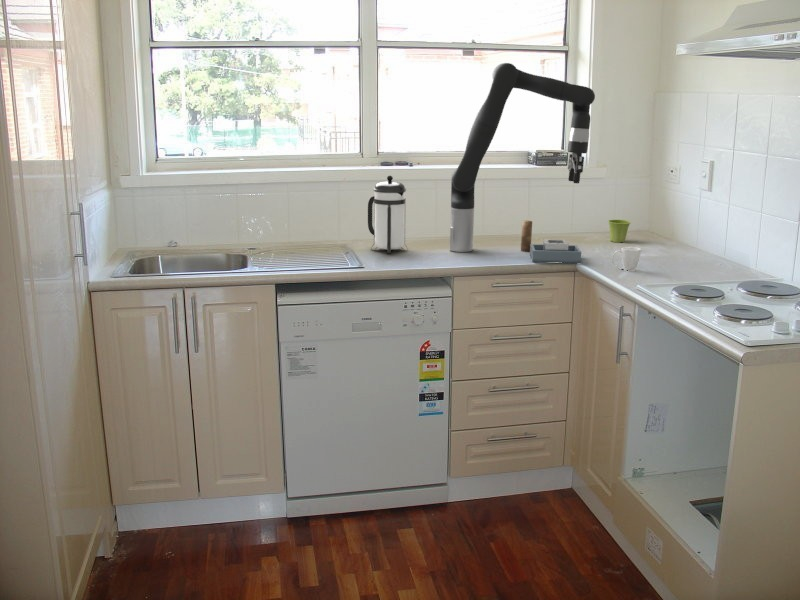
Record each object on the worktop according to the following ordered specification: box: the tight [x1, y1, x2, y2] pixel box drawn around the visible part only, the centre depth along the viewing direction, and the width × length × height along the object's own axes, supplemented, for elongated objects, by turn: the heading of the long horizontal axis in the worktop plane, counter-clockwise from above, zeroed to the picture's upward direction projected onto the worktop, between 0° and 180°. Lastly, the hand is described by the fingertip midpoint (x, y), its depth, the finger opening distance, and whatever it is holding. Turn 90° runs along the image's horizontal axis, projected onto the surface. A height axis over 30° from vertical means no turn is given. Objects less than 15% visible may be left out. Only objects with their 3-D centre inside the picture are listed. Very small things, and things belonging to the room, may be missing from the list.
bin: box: [529, 243, 582, 265], centre depth 305 cm, size 18×13×4 cm
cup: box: [611, 246, 642, 272], centre depth 288 cm, size 7×10×8 cm
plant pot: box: [607, 219, 632, 243], centre depth 341 cm, size 9×9×9 cm
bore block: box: [542, 238, 569, 251], centre depth 304 cm, size 9×9×6 cm
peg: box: [520, 220, 533, 253], centre depth 319 cm, size 4×4×12 cm
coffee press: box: [367, 175, 409, 255], centre depth 316 cm, size 17×16×30 cm
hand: (573, 182), depth 312 cm, fingers open, 8 cm apart
